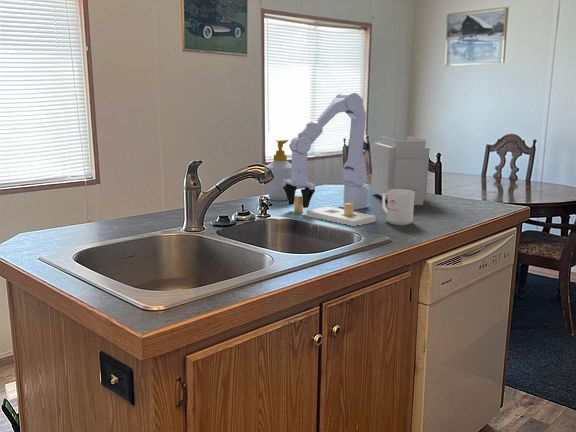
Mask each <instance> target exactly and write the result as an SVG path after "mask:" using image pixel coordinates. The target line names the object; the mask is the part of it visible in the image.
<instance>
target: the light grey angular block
mask: <svg viewBox="0 0 576 432" xmlns="http://www.w3.org/2000/svg"><path fill="white" fill-rule="evenodd" d="M426 141H427V140H426V139H424V138H421V137H420V138H419V137H415V136H410V135H409V136H408V135H407V136H406V140H398V139H396V138H391V137H387V136H384V135H381V136H380V141H379V140H378V141H377V142H373V149H372V167H371V168H372V170H371V172H372V173H371V188H370V189H371V190H370V191H372V192H373V193H376V194H377V195H379V196H381V198H382V193H388V191H389V190H392V189H405V190H411V191H414V192H415V195H414V206H424V201H425V200H424V199H425V198H424V197H427V191H428V190H427V189H428V177H429V165H430V163H429V161H430V150H431V149H430V147H427V146H426V143H427V142H426ZM385 201H387V202H388V194H386V195H385Z"/></svg>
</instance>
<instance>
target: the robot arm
mask: <svg viewBox="0 0 576 432" xmlns="http://www.w3.org/2000/svg"><path fill="white" fill-rule="evenodd" d="M339 113H345V114H346V115H348V117H349V118H350V130H349V141H348V153H347V160H346V161H345V162H344V163H343V169H342V171H341V173H340V176H341V180H342V181H343V204H342V205H338V208H340V209H344V204H345V203H353V204H354V207H353V211H356V210H360V209H367V208H369V205H368V193H369V191H368V188H367V186H366V185H364V184H365V183H366V181H367V178H368V177H367V172H366V165H365V164H364V162H363V152H364V150H363V149H364V143H365V141H364V140H365V131H366V118H367V113H366V109H365V106H364V98H362V97H361V95H359V94H358V93H357V92H351V93H350V92H349V93H348V92H347V93H345V92H340V93H338V94H337V95H336V96H335V97H334V98H332V100H331V102H330V104H329V105H328V106H327V107H326V108H325V109H324V111H323V112H322V113H321V114H320V116H319V117H318V118H317V119H316V121H310V122H307V123H306V125H305V126H306V127H305V128H304V129H303V130H302V131H301V132H299V133H298V134H297V136H295V137H294V138H292V139H291V140H290V143H289V145H288V147H289V150H290V151H291V165H292V177H291V180H289V179H285V180H284V185H286V186H284V187H283V189H284V191H285V193H286V195H287V199H288V200H287V202H288V205H289V206H292V205H294V200H295V196H296V193H297V192H296V191H297V188H302V189H300V191H301V196H302V197H303V209H307V208H309V206H310V202H311V200H312V197H313V195H314V194H315V191H316V184H315V183H313V182H310V181H308V152H310V151H311V148H312V147H311V146H312V144H313V143H315V141H316V140H317V139H318V138H319V136H321V135H322V134H323V128H324V127H325V126H326V125H327V124H328V123H329V122H330V121H331V120H332V119H333V118H334V117H335V116H336V115H338V114H339Z"/></svg>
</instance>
